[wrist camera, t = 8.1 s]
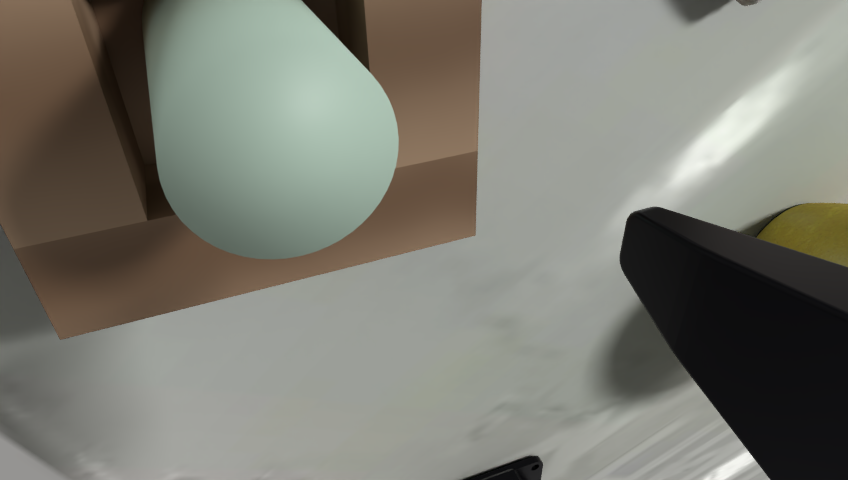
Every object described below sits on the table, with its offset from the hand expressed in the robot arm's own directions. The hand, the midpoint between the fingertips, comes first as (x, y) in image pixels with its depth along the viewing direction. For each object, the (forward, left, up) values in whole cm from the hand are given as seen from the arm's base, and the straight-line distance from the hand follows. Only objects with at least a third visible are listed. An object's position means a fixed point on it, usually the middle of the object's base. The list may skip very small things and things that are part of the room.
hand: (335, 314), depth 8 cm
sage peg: (0, 0, -11) cm, 11 cm away
